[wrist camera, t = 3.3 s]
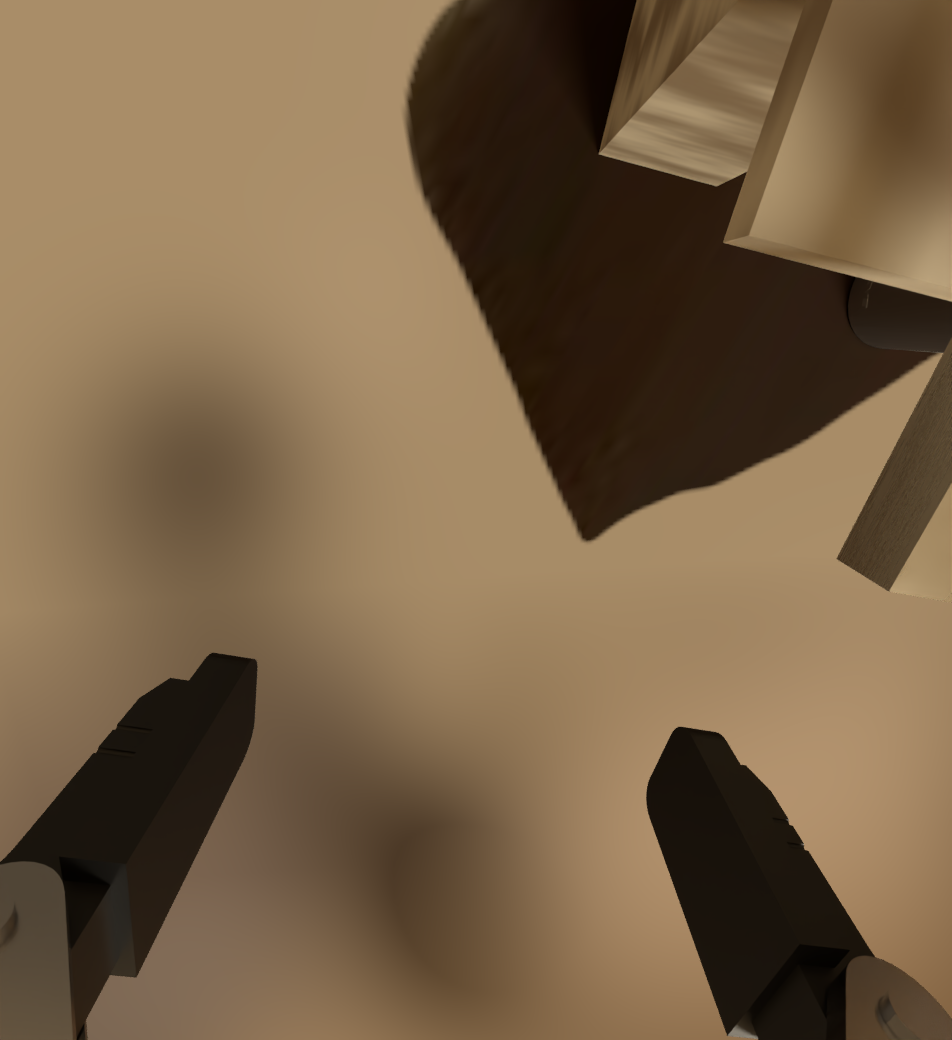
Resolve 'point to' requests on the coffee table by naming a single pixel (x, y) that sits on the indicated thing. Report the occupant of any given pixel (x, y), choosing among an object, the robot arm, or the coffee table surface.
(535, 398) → the coffee table surface
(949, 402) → the saucepan
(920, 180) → the stand
